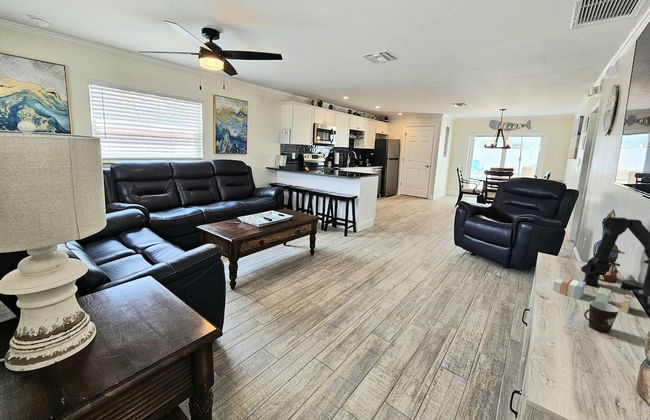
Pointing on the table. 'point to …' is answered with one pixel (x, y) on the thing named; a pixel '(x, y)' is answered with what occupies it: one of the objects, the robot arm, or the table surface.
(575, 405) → the table surface
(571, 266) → the table surface
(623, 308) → the bookend
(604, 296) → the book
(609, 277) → the music box
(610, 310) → the coffee mug
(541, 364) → the table surface
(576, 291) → the book row
